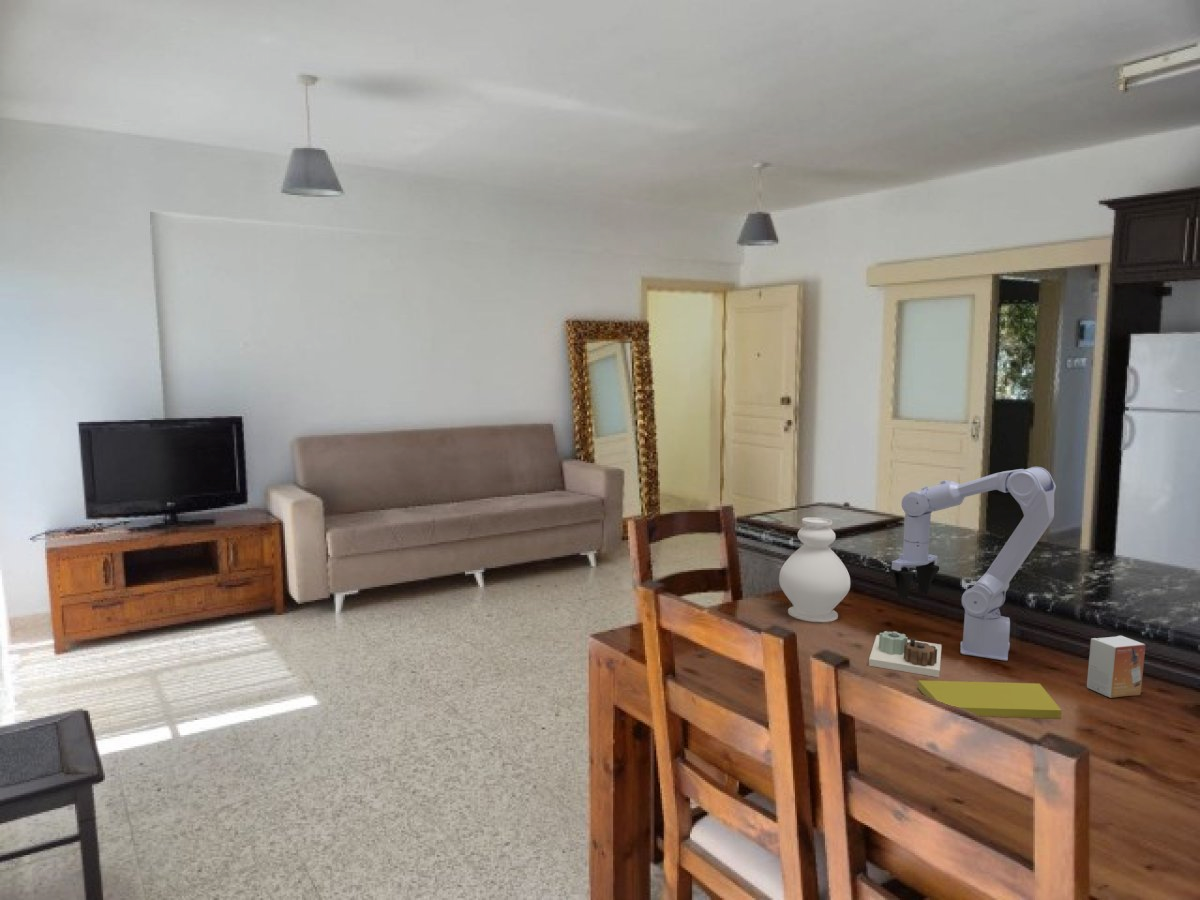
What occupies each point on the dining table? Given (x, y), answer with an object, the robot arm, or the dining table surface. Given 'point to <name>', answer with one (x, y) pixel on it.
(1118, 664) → the small box
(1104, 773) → the dining table surface
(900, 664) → the gear board
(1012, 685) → the flat olive board
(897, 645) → the sage gear
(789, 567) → the decorative vase
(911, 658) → the drive gear
